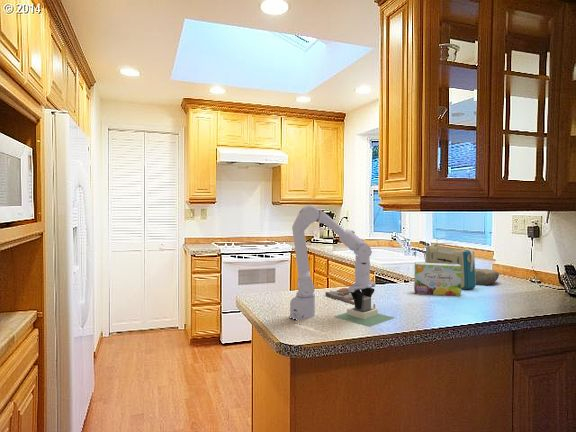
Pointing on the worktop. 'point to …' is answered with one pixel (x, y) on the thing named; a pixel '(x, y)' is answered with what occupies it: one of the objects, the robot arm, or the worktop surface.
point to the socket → (362, 313)
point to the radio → (454, 261)
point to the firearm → (341, 295)
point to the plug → (365, 304)
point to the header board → (366, 322)
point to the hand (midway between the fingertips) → (362, 307)
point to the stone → (485, 276)
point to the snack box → (437, 279)
